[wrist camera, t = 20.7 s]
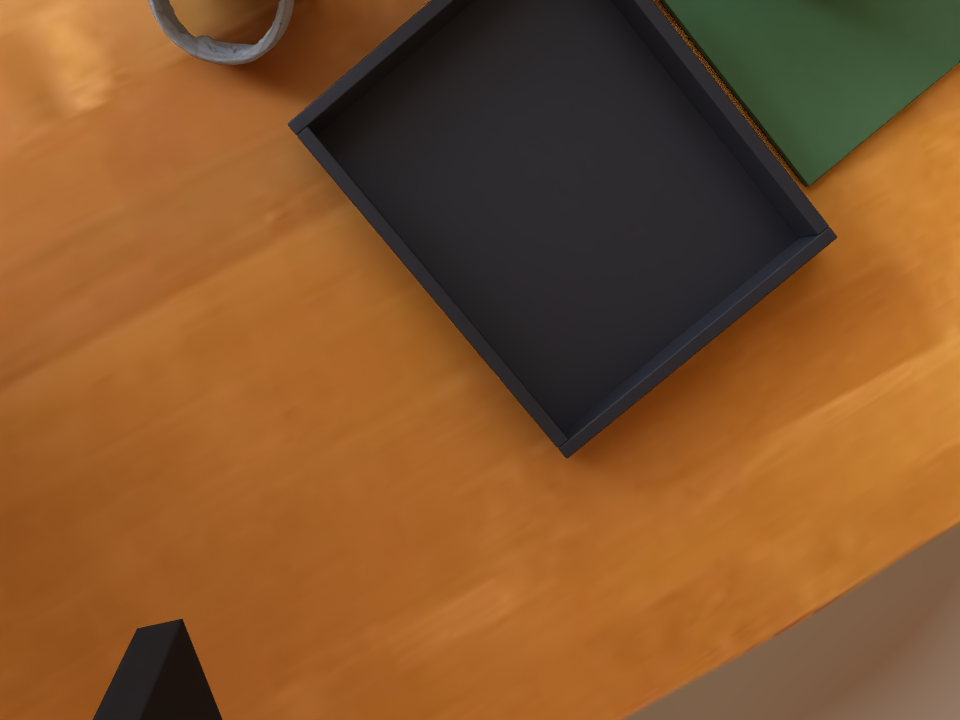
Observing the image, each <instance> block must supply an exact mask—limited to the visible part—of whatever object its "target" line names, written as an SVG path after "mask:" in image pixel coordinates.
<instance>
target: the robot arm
mask: <svg viewBox="0 0 960 720" xmlns="http://www.w3.org/2000/svg"><path fill="white" fill-rule="evenodd" d="M93 720H222V717H221V715H220V712H219V710H218V707H217V705H216V702H215V700H214V697H213V695H212V692H211V690H210V687H209V685H208V682H207V680H206V677H205V675H204V672H203V669H202V667H201V664H200V662H199V659H198V657H197V654H196V652H195V649H194V647H193V644H192V642H191V639H190V637H189V634H188V632H187V629H186V627H185V624H184V622H183V619H180V620H175V621H170V622H165V623H161V624H156V625H151V626H147V627H142V628H137V630H136V632H135V634H134V636H133V638H132V640H131V642H130V644H129V646H128V648H127V650H126V652H125V654H124V656H123V659H122V661H121V663H120V665H119V667H118V669H117V671H116V673H115V675H114V677H113V679H112V681H111V683H110V685H109V687H108V689H107V691H106V693H105V695H104V698H103V700H102V702H101V704H100V706H99V708H98V710H97V712H96V714H95V716H94V718H93Z"/></svg>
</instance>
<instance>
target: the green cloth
mask: <svg viewBox="0 0 960 720" xmlns="http://www.w3.org/2000/svg"><path fill="white" fill-rule="evenodd" d="M660 1H661V2H662V3H663V5H664V6H665V7H666V8H667V10H668V11H669V12H670V14H671V15H672V16H673V17H674V19H675V20H676V21H677V23H678V24H679V25H680V26H681V28H682V29H683V30H684V31H685V33H686V34H687V35H688V37H689V38H690V39H691V40H692V42H693V43H694V44H695V46H696V47H697V48H698V49H699V51H700V52H701V53H702V54H703V56H704V57H705V58H706V60H707V61H708V62H709V63H710V65H711V66H712V67H713V69H714V70H715V71H716V72H717V74H718V75H719V76H720V78H721V79H722V80H723V81H724V83H725V84H726V85H727V86H728V88H729V89H730V90H731V92H732V93H733V94H734V95H735V97H736V98H737V99H738V101H739V102H740V103H741V104H742V106H743V107H744V108H745V109H746V111H747V112H748V113H749V115H750V116H751V117H752V118H753V120H754V121H755V122H756V124H757V125H758V126H759V127H760V129H761V130H762V131H763V132H764V134H765V135H766V136H767V138H768V139H769V140H770V141H771V143H772V144H773V145H774V147H775V148H776V149H777V150H778V152H779V153H780V154H781V155H782V157H783V158H784V159H785V161H786V162H787V163H788V164H789V166H790V167H791V168H792V170H793V171H794V172H795V173H796V175H797V176H798V177H799V179H800V180H801V181H802V182H803V184H804V185H805V186H806V187H807V186H810V185H811V184H812V183H813V182H815V181H816V180H817V179H818V178H820V177H821V176H822V175H823V174H824V173H826V172H827V171H828V170H829V169H830V168H832V167H833V166H834V165H835V164H837V163H838V162H839V161H840V160H841V159H843V158H844V157H845V156H846V155H847V154H849V153H850V152H851V151H852V150H854V149H855V148H856V147H857V146H858V145H860V144H861V143H862V142H863V141H864V140H866V139H867V138H868V137H869V136H871V135H872V134H873V133H874V132H875V131H877V130H878V129H879V128H880V127H881V126H883V125H884V124H885V123H886V122H888V121H889V120H890V119H891V118H892V117H894V116H895V115H896V114H897V113H898V112H900V111H901V110H902V109H903V108H905V107H906V106H907V105H908V104H909V103H911V102H912V101H913V100H914V99H915V98H917V97H918V96H919V95H920V94H922V93H923V92H924V91H925V90H926V89H928V88H929V87H930V86H931V85H932V84H934V83H935V82H936V81H937V80H939V79H940V78H941V77H942V76H943V75H945V74H946V73H947V72H948V71H949V70H951V69H952V68H953V67H954V66H956V65H957V64H958V63H959V62H960V0H660Z"/></svg>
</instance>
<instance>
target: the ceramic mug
mask: <svg viewBox="0 0 960 720" xmlns="http://www.w3.org/2000/svg"><path fill="white" fill-rule="evenodd" d="M148 1H149V4H150V7H151V10H152V13H153V14H154V16H155V18H156V20H157V21H158V23H159V25H160V27H161V29H162V30H163V31H164V33H165V34H166V35H167V36H168V37H169V38H170V39H171V40H172V41H173V42H174V43H175V44H176V45H178V46H179V47H180V48H182V49H183V50H184V51H186V52H187V53H189V54H190V55H192V56H194V57H196V58H198V59H202V60H204V61H207V62H213V63H217V64H228V65H238V64H244V63H250V62H252V61H255V60H256V59H258V58H260V57H261V56H263V55H264V54H266V53H267V52H268V51H270V50H271V49H273V47H274V46H275V45H276V44H277V43H278V42H279V40H280V39H281V37H282V36H283V34H284V33H285V31H286V29H287V27H288V25H289V22H290V20H291V17H292V12H293V7H294V1H295V0H279V4H278V8H277V12H276V16H275V20H274V22H273V24H272V26H271V28H270V29H269V30H268V32H267V33H266V34H265V36H264V37H263V38H262V39H260V40H259V42H258V44H254V45H251V44H238V43H227V42H221V41H216V40H213V39H212V38H210V37H209V36H199V37H197V38H196V37H194V36H193V35H191V34H190V33H189V32H188V31H187V29H186V28H185V27H184V26H183V25H182V24H181V23H180V22H179V20H178V19H177V17H176V15H175V14H174V10H173V8H172V6H171V5H170V2H169V0H148Z"/></svg>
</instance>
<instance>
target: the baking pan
mask: <svg viewBox="0 0 960 720" xmlns="http://www.w3.org/2000/svg"><path fill="white" fill-rule="evenodd" d="M288 126H289V127H290V128H291V130H292V131H293V132H294V133H295V134H296V135H297V136H298V138H299V139H300V140H301V141H302V143H303V144H304V145H305V146H306V147H307V149H308V150H309V151H310V152H311V153H312V155H313V156H314V157H315V158H316V159H317V161H318V162H319V163H320V164H321V165H322V167H323V168H324V169H325V170H326V171H327V173H328V174H329V175H330V176H331V177H332V179H333V180H334V181H335V182H336V183H337V185H338V186H339V187H340V188H341V189H342V191H343V192H344V193H345V194H346V195H347V197H348V198H349V199H350V200H351V201H352V203H353V204H354V205H355V206H356V207H357V209H358V210H359V211H360V212H361V213H362V214H363V216H364V217H365V218H366V219H367V220H368V222H369V223H370V224H371V225H372V226H373V228H374V229H375V230H376V231H377V232H378V234H379V235H380V236H381V237H382V238H383V240H384V241H385V242H386V243H387V244H388V246H389V247H390V248H391V249H392V250H393V252H394V253H395V254H396V255H397V256H398V258H399V259H400V260H401V261H402V262H403V264H404V265H405V266H406V267H407V268H408V270H409V271H410V272H411V273H412V274H413V276H414V277H415V278H416V279H417V280H418V282H419V283H420V284H421V285H422V286H423V288H424V289H425V290H426V291H427V292H428V293H429V295H430V296H431V297H432V298H433V299H434V301H435V302H436V303H437V304H438V305H439V307H440V308H441V309H442V310H443V311H444V313H445V314H446V315H447V316H448V317H449V319H450V320H451V321H452V322H453V323H454V325H455V326H456V327H457V328H458V329H459V331H460V332H461V333H462V334H463V335H464V337H465V338H466V339H467V340H468V341H469V343H470V344H471V345H472V346H473V347H474V349H475V350H476V351H477V352H478V353H479V355H480V356H481V357H482V358H483V359H484V361H485V362H486V363H487V364H488V365H489V366H490V368H491V369H492V370H493V371H494V372H495V374H496V375H497V376H498V377H499V378H500V380H501V381H502V382H503V383H504V384H505V386H506V387H507V388H508V389H509V390H510V392H511V393H512V394H513V395H514V396H515V398H516V399H517V400H518V401H519V402H520V404H521V405H522V406H523V407H524V408H525V410H526V411H527V412H528V413H529V414H530V416H531V417H532V418H533V419H534V420H535V422H536V423H537V424H538V425H539V426H540V428H541V429H542V430H543V431H544V432H545V434H546V435H547V436H548V437H549V438H550V439H551V441H552V442H553V443H554V444H555V445H556V447H558V449H559V450H560V451H561V453H562V454H563V455H564V456H565V457H566V458H569V457H570V456H571V455H572V454H574V453H575V452H576V451H577V450H578V449H580V448H581V447H582V446H583V445H585V444H586V443H587V442H588V441H589V440H591V439H592V438H593V437H594V436H596V435H597V434H598V433H599V432H600V431H602V430H603V429H604V428H605V427H607V426H608V425H609V424H610V423H611V422H613V421H614V420H615V419H616V418H618V417H619V416H620V415H621V414H622V413H624V412H625V411H626V410H627V409H629V408H630V407H631V406H632V405H633V404H635V403H636V402H637V401H638V400H640V399H641V398H642V397H643V396H644V395H646V394H647V393H648V392H649V391H651V390H652V389H653V388H654V387H655V386H657V385H658V384H659V383H660V382H662V381H663V380H664V379H665V378H666V377H668V376H669V375H670V374H671V373H673V372H674V371H675V370H676V369H677V368H679V367H680V366H681V365H682V364H684V363H685V362H686V361H687V360H688V359H690V358H691V357H692V356H693V355H695V354H696V353H697V352H698V351H699V350H701V349H702V348H703V347H704V346H706V345H707V344H708V343H709V342H710V341H712V340H713V339H714V338H715V337H716V336H718V335H719V334H720V333H721V332H723V331H724V330H725V329H726V328H727V327H729V326H730V325H731V324H732V323H734V322H735V321H736V320H737V319H738V318H740V317H741V316H742V315H743V314H745V313H746V312H747V311H748V310H749V309H751V308H752V307H753V306H754V305H756V304H757V303H758V302H759V301H760V300H762V299H763V298H764V297H765V296H767V295H768V294H769V293H770V292H771V291H773V290H774V289H775V288H776V287H778V286H779V285H780V284H781V283H782V282H784V281H785V280H786V279H787V278H789V277H790V276H791V275H792V274H793V273H795V272H796V271H797V270H798V269H800V268H801V267H802V266H803V265H804V264H806V263H807V262H808V261H809V260H811V259H812V258H813V257H814V256H815V255H817V254H818V253H819V252H820V251H822V250H823V249H824V248H825V247H826V246H828V245H829V244H830V243H831V242H833V241H834V240H835V239H836V238H837V236H836V234H835V233H834V232H833V231H832V229H831V228H830V227H828V226H829V225H828V224H827V223H826V221H825V220H824V219H823V218H822V216H821V215H820V214H819V212H818V211H817V210H816V209H815V207H814V206H813V205H812V203H811V202H810V201H809V200H808V198H807V197H806V196H805V195H804V193H803V192H802V191H801V189H800V188H799V187H798V186H797V184H796V183H795V182H794V181H793V179H792V178H791V177H790V175H789V174H788V173H787V172H786V170H785V169H784V168H783V166H782V165H781V164H780V163H779V161H778V160H777V159H776V158H775V156H774V155H773V154H772V152H771V151H770V150H769V149H768V147H767V146H766V145H765V143H764V142H763V141H762V140H761V138H760V137H759V136H758V135H757V133H756V132H755V131H754V129H753V128H752V127H751V126H750V124H749V123H748V122H747V120H746V119H745V118H744V117H743V115H742V114H741V113H740V112H739V110H738V109H737V108H736V106H735V105H734V104H733V103H732V101H731V100H730V99H729V98H728V96H727V95H726V94H725V92H724V91H723V90H722V89H721V87H720V86H719V85H718V83H717V82H716V81H715V80H714V78H713V77H712V76H711V75H710V73H709V72H708V71H707V69H706V68H705V67H704V66H703V64H702V63H701V62H700V60H699V59H698V58H697V57H696V55H695V54H694V53H693V52H692V50H691V49H690V48H689V46H688V45H687V44H686V43H685V41H684V40H683V39H682V37H681V36H680V35H679V34H678V32H677V31H676V30H675V29H674V27H673V26H672V25H671V23H670V22H669V21H668V20H667V18H666V17H665V16H664V14H663V13H662V12H661V11H660V9H659V8H658V7H657V6H656V4H655V3H654V2H653V0H431V1H430V2H429V3H428V4H427V5H425V6H424V7H423V8H422V9H421V10H420V11H418V12H417V13H416V14H415V15H414V16H413V17H411V18H410V19H409V20H408V21H407V22H406V23H404V24H403V25H402V26H401V27H400V28H399V29H397V30H396V31H395V32H394V33H393V34H392V35H390V36H389V37H388V38H387V39H386V40H385V41H383V42H382V43H381V44H380V45H379V46H378V47H376V48H375V49H374V50H373V51H372V52H371V53H369V54H368V55H367V56H366V57H365V58H364V59H362V60H361V61H360V62H359V63H358V64H357V65H355V66H354V67H353V68H352V69H351V70H350V71H348V72H347V73H346V74H345V75H344V76H343V77H341V78H340V79H339V80H338V81H337V82H336V83H334V84H333V85H332V86H331V87H330V88H329V89H327V90H326V91H325V92H324V93H323V94H322V95H320V96H319V97H318V98H317V99H316V100H315V101H313V102H312V103H311V104H310V105H309V106H308V107H306V108H305V109H304V110H303V111H302V112H301V113H299V114H298V115H297V116H296V117H295V118H294V119H292V120H291V121H290V122H289V123H288Z"/></svg>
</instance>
